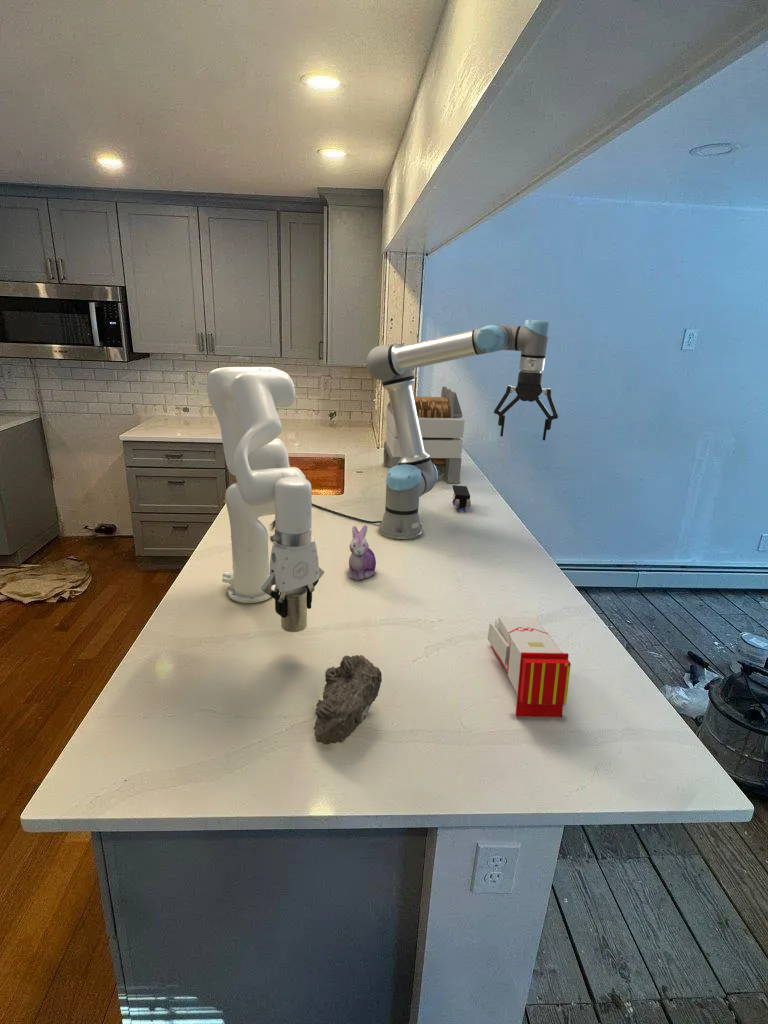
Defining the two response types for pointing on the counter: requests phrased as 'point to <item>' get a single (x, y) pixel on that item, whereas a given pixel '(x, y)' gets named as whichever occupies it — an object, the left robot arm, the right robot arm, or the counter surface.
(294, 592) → the can
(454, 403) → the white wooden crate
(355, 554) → the figurine
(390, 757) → the counter surface
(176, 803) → the counter surface
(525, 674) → the toy
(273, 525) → the feather
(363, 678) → the fossil
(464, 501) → the figurine character
